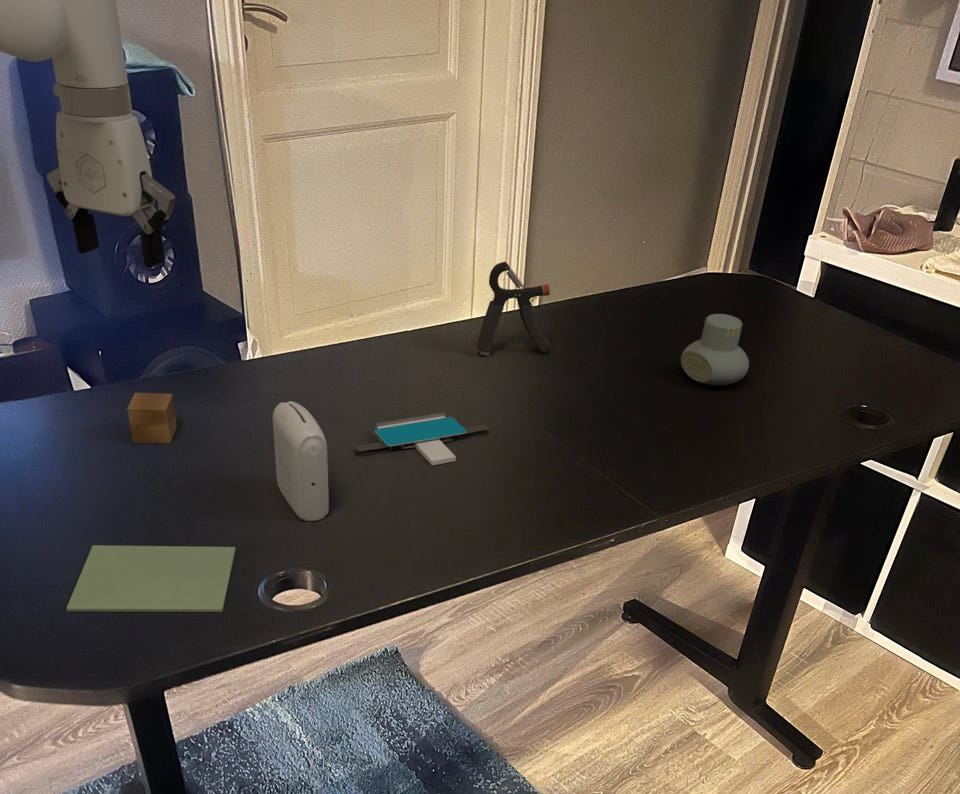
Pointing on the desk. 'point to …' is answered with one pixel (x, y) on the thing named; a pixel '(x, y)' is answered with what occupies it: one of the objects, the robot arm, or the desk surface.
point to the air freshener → (717, 352)
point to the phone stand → (420, 436)
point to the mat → (153, 579)
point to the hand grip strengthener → (523, 303)
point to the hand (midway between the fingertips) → (121, 257)
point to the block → (152, 418)
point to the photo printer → (301, 461)
